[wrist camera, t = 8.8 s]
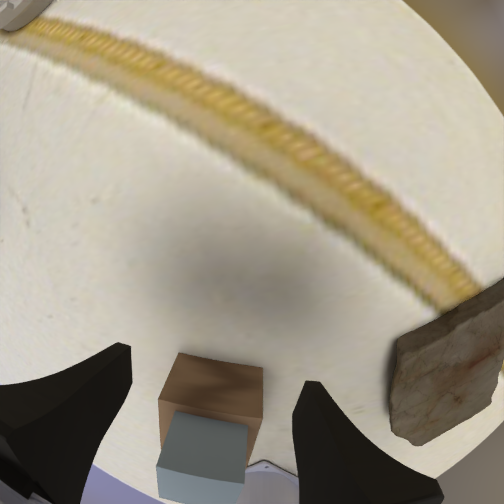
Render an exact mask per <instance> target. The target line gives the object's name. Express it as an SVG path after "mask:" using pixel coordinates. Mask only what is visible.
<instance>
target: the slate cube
mask: <svg viewBox="0 0 504 504" xmlns="http://www.w3.org/2000/svg"><path fill="white" fill-rule="evenodd" d="M247 435H248V425H243V424H237V423H231V422H225V421H220V420H214V419H209V418H205V417H200V416H195V415H191V414H187V413H183V412H179V411H175V412H174V415H173V418H172V421H171V424H170V427H169V430H168V432H167V435H166V438H165V441H164V444H163V447H162V450H161V453H160V456H159V459H158V462H157V465H156V471H157V482H158V491H159V497H160V498H163V499H167V500H171V501H175V502H179V503H184V504H236V501H237V499H238V497H239V495H240V493H241V491H242V488H243V486H244V484H245V468H246V452H247Z"/></svg>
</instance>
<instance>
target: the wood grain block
mask: <svg viewBox="0 0 504 504" xmlns="http://www.w3.org/2000/svg"><path fill="white" fill-rule="evenodd" d="M158 408H159V427H160V441H161V450H162V447H163V444H164V441H165V438H166V435H167V432H168V430H169V427H170V424H171V421H172V418H173V415H174V412H175V411H179V412H183V413H187V414H191V415H195V416H200V417H205V418H209V419H214V420H220V421H225V422H231V423H237V424H243V425H248V435H247V452H246V468H247V465H248V462H249V459H250V456H251V453H252V450H253V447H254V444H255V441H256V438H257V435H258V432H259V429H260V425H261V422H262V419H263V368H261V367H254V366H247V365H241V364H235V363H229V362H223V361H218V360H212V359H207V358H202V357H197V356H192V355H187V354H183V353H178V355H177V358H176V360H175V362H174V364H173V367H172V369H171V371H170V373H169V376H168V378H167V380H166V382H165V385H164V387H163V389H162V391H161V394H160V396H159V398H158ZM246 468H245V469H246Z"/></svg>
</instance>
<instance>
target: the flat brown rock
mask: <svg viewBox="0 0 504 504" xmlns="http://www.w3.org/2000/svg"><path fill="white" fill-rule="evenodd" d="M503 360H504V279H502V280H501V281H499V282H498V283H497V284H495V285H493V286H492V287H489V288H488V289H486V290H484V291H483V292H481V293H480V294H478V295H476V296H475V297H473V298H471V299H469V300H467V301H465V302H463V303H462V304H460V305H459V306H458V307H456V308H455V309H454V310H453V311H450V312H449V313H447V314H446V315H444V316H442V317H439V318H437V319H436V320H434V321H432V322H430V323H429V324H427V325H424V326H422V327H420V328H418V329H416V330H414V331H411V332H409V333H406V334H405V335H403V336H401V337H399V338H398V340H397V365H396V368H395V371H394V374H393V380H392V385H391V390H390V401H389V412H390V418H389V420H390V425H391V431H392V432H393V433H394V434H395V435H396V436H398V437H401V438H404V439H407V440H408V441H409V442H410V443H411V444H412V445H414V446H422V445H424V444H426V443H427V442H429V441H431V440H433V439H434V438H436V437H438V436H440V435H441V434H443V433H445V432H446V431H448V430H450V429H452V428H453V427H455V426H457V425H458V424H460V423H462V422H464V421H466V420H468V419H469V418H471V417H473V416H474V415H475V414H477V413H479V412H481V411H482V410H483V409H485V408H486V407H487V406H489V405H490V404H491V402H492V401H491V397H492V395H493V393H494V391H495V388H496V386H497V384H498V375H499V372H500V370H501V367H502V364H503Z"/></svg>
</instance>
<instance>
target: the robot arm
mask: <svg viewBox="0 0 504 504" xmlns="http://www.w3.org/2000/svg"><path fill="white" fill-rule="evenodd" d="M132 382H133V381H132V363H131V346H129V345H126V344H122V343H119V342H117V343H115V344H113V345H111V346H110V347H108V348H106V349H104V350H103V351H101V352H99V353H97V354H95V355H93V356H92V357H90V358H88V359H86V360H84V361H82V362H80V363H78V364H76V365H74V366H72V367H69V368H67V369H65V370H63V371H60V372H58V373H55V374H52V375H49V376H46V377H43V378H40V379H36V380H31V381H27V382H23V383H17V384H9V385H0V504H80V501H81V497H82V493H83V490H84V487H85V483H86V480H87V477H88V474H89V471H90V468H91V465H92V463H93V460H94V457H95V455H96V452H97V450H98V448H99V445H100V443H101V441H102V439H103V437H104V435H105V434H106V432H107V430H108V429H109V427H110V425H111V424H112V422H113V420H114V418H115V417H116V415H117V413H118V412H119V410H120V408H121V407H122V405H123V403H124V401H125V399H126V397H127V395H128V392H129V390H130V387H131V385H132ZM292 435H293V442H294V449H295V456H296V463H297V470H298V477H296V476H294V475H292V474H290V473H288V472H286V471H284V470H282V469H280V468H278V467H276V466H274V465H272V464H270V463H269V462H266V461H262V462H259V463H257V464H255V465H252V466H250V467H247V468H246V469H245V484H244V486H243V488H242V491H241V493H240V495H239V497H238V499H237V501H236V504H441V503H442V501H443V499H444V495H443V493H442V490H441V488H440V486H439V484H438V482H437V480H436V479H433V478H431V477H428V476H426V475H423V474H421V473H419V472H416V471H414V470H412V469H411V468H409V467H407V466H405V465H403V464H401V463H400V462H398V461H397V460H395V459H393V458H392V457H391V456H389V455H388V454H386V453H385V452H383V451H382V450H381V449H379V448H378V447H377V446H376V445H375V444H373V443H372V442H371V441H370V440H369V439H368V438H367V437H366V436H364V435H363V434H362V433H361V432H360V431H359V430H358V428H357V427H356V426H355V425H354V424H353V423H352V422H351V421H350V420H349V419H348V417H347V416H346V415H345V414H344V413H343V411H342V410H341V409H340V408H339V406H338V405H337V404H336V403H335V401H334V400H333V399H332V397H331V396H330V395H329V393H328V392H327V391H326V389H325V388H324V386H323V385H322V384H321V383H320V382H318V381H307V380H306V381H305V384H304V386H303V389H302V391H301V394H300V396H299V399H298V401H297V404H296V406H295V409H294V411H293V414H292Z"/></svg>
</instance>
